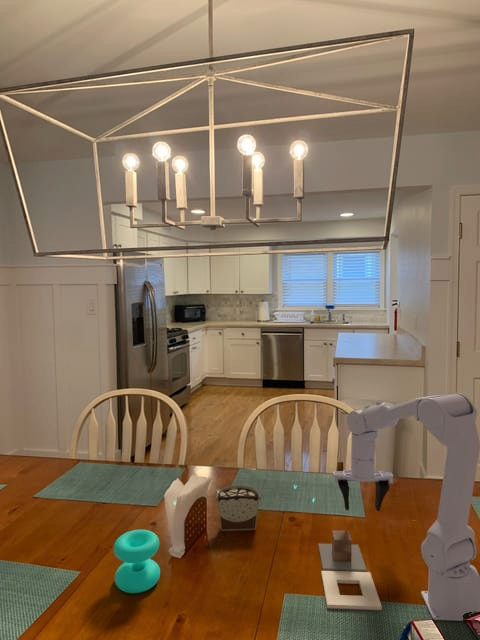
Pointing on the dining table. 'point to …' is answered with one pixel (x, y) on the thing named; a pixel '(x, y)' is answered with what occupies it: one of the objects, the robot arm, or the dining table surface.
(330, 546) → the mat
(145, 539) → the turquoise spool
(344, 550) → the block
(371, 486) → the dining table surface
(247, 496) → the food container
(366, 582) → the pocket plate
